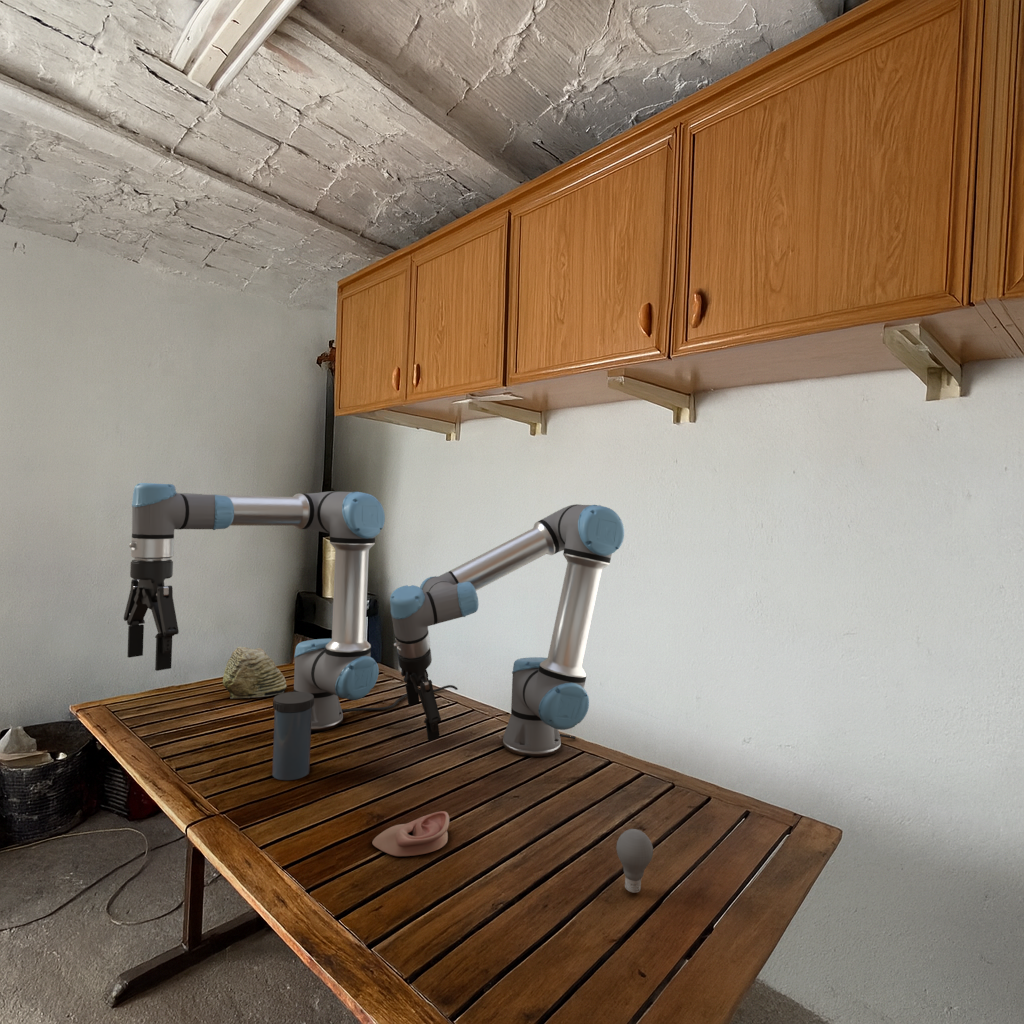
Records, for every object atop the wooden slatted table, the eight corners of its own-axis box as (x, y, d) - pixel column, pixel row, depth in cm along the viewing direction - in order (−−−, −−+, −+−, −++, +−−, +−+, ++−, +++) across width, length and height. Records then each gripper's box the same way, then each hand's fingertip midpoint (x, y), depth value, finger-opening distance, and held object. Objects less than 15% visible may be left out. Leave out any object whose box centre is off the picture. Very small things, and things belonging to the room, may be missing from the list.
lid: (286, 715, 138) (287, 706, 138) (265, 705, 144) (265, 697, 144) (321, 706, 145) (321, 697, 145) (299, 697, 151) (300, 689, 150)
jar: (284, 783, 139) (287, 707, 139) (265, 772, 144) (267, 699, 144) (316, 772, 145) (319, 699, 145) (296, 762, 150) (299, 691, 150)
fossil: (218, 695, 195) (220, 647, 195) (278, 685, 208) (279, 640, 207) (228, 703, 189) (230, 653, 188) (289, 692, 201) (290, 645, 201)
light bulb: (610, 879, 108) (613, 822, 108) (644, 879, 109) (647, 822, 109) (619, 902, 102) (622, 840, 102) (655, 901, 103) (658, 840, 103)
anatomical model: (365, 829, 114) (390, 800, 125) (364, 851, 114) (389, 820, 125) (436, 840, 111) (455, 810, 122) (435, 863, 111) (454, 830, 122)
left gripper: (108, 554, 134) (104, 654, 134) (159, 565, 118) (155, 678, 119) (146, 552, 140) (143, 648, 140) (199, 563, 124) (195, 671, 124)
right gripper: (381, 626, 153) (392, 695, 162) (417, 687, 133) (427, 761, 142) (410, 617, 156) (420, 685, 165) (450, 675, 136) (458, 748, 145)
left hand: (148, 662), depth 129 cm, fingers open, 13 cm apart
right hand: (423, 720), depth 154 cm, fingers open, 13 cm apart
